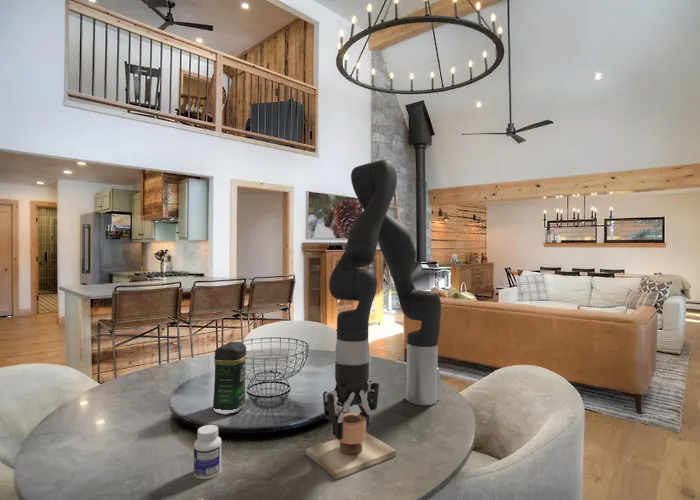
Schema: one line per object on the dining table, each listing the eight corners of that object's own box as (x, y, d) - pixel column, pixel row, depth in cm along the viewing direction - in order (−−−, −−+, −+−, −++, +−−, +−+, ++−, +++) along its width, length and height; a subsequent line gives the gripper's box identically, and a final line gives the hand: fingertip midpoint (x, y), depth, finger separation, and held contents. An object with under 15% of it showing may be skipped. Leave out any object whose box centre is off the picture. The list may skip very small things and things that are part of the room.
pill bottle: (198, 466, 84) (198, 423, 84) (223, 465, 84) (224, 422, 84) (190, 480, 79) (190, 435, 79) (217, 479, 79) (218, 434, 79)
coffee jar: (237, 416, 109) (238, 348, 109) (209, 415, 109) (210, 347, 109) (249, 403, 118) (249, 340, 118) (222, 402, 119) (223, 339, 119)
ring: (354, 428, 94) (354, 411, 94) (371, 438, 89) (371, 420, 89) (331, 435, 90) (331, 417, 90) (348, 446, 85) (348, 427, 85)
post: (353, 442, 93) (353, 410, 93) (366, 450, 89) (367, 418, 89) (335, 448, 90) (335, 415, 90) (348, 457, 86) (349, 423, 86)
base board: (362, 435, 99) (362, 430, 99) (396, 455, 89) (396, 450, 89) (305, 454, 89) (306, 448, 89) (336, 479, 80) (336, 473, 80)
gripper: (366, 350, 97) (366, 420, 97) (315, 359, 88) (314, 436, 88) (387, 357, 90) (386, 432, 90) (334, 368, 82) (333, 450, 82)
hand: (351, 433), depth 89 cm, fingers closed on ring, 6 cm apart
